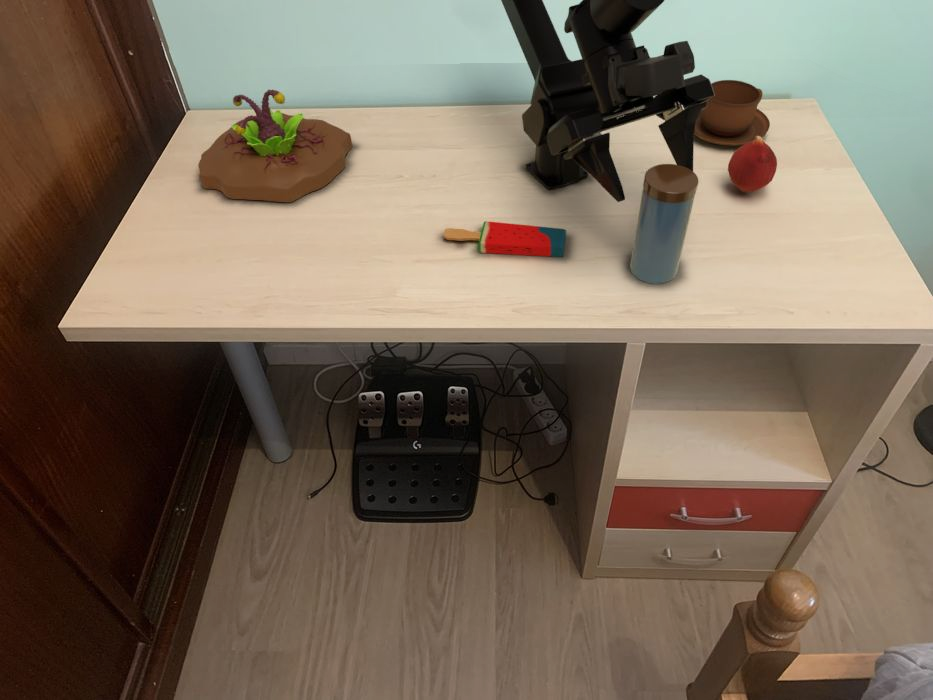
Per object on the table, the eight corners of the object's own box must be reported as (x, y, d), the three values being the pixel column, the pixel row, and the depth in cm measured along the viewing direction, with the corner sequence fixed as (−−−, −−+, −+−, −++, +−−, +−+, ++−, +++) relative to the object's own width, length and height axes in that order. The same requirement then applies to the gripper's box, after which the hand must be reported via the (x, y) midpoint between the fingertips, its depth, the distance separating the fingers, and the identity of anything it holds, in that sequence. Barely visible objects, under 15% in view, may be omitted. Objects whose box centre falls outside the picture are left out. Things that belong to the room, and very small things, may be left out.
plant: (305, 214, 96) (287, 138, 88) (180, 189, 101) (153, 114, 93) (370, 139, 109) (360, 66, 101) (256, 119, 114) (238, 48, 106)
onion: (771, 184, 98) (788, 130, 92) (764, 208, 94) (781, 153, 89) (727, 175, 100) (741, 121, 94) (718, 198, 96) (732, 143, 90)
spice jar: (619, 263, 88) (633, 172, 79) (657, 248, 89) (675, 158, 80) (648, 290, 84) (666, 198, 75) (687, 274, 86) (709, 183, 77)
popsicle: (447, 217, 93) (566, 227, 91) (447, 227, 94) (565, 236, 92) (440, 240, 89) (563, 249, 87) (441, 249, 91) (563, 259, 88)
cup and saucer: (706, 103, 114) (714, 64, 109) (780, 127, 108) (792, 88, 103) (666, 135, 107) (673, 95, 103) (742, 162, 102) (754, 122, 97)
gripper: (568, 38, 69) (623, 195, 70) (722, -2, 75) (771, 143, 76) (524, 84, 80) (572, 220, 81) (662, 45, 86) (705, 173, 87)
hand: (655, 188), depth 81 cm, fingers open, 9 cm apart
